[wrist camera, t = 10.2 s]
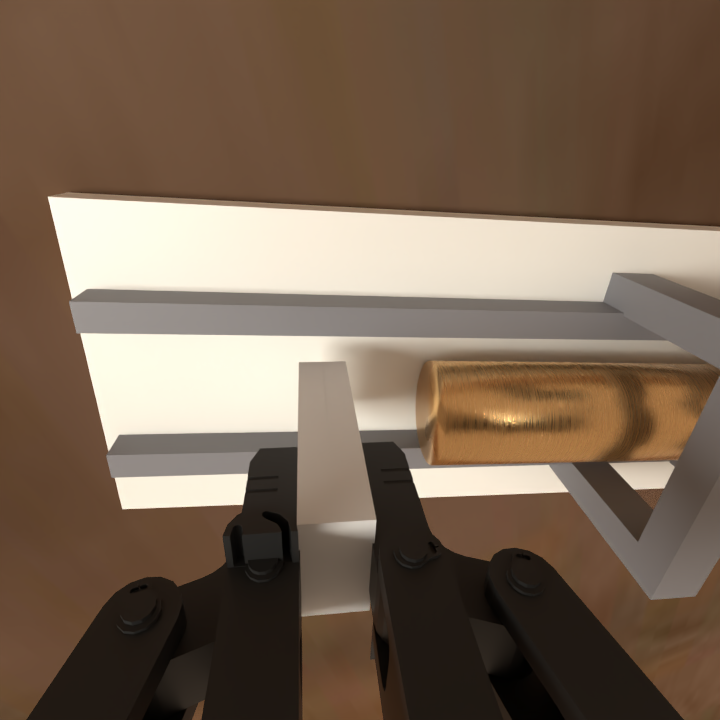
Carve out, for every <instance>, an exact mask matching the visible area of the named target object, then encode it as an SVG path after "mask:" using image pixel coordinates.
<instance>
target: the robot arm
mask: <svg viewBox="0 0 720 720" xmlns="http://www.w3.org/2000/svg"><path fill="white" fill-rule="evenodd" d="M223 543H224V550H225V556H226V563H225V564H224V565H223V566H222V567H220V568H219V569H217V570H216V571H215V572H213V573H212V574H209V575H207V576H205V577H203V578H201V579H198V580H195V581H193V582H190V583H187V584H184V585H182V586H179V587H177V586H176V584H175V583H174V582H173V581H171V580H168V579H165V578H162V577H146V578H143V579H140V580H137V581H135V582H132V583H129V584H128V585H126V586H125V587H123V588H122V589H120V590H119V591H117V592H116V593H115V594H114V595H113V596H112V597H111V598H110V599H109V600H108V602H107V603H106V604H105V605H104V606H103V607H102V609H101V610H100V612H99V613H98V615H97V616H96V618H95V619H94V621H93V622H92V624H91V625H90V627H89V628H88V629H87V631H86V632H85V634H84V635H83V637H82V638H81V640H80V641H79V643H78V644H77V646H76V647H75V649H74V650H73V652H72V653H71V655H70V656H69V658H68V659H67V661H66V662H65V664H64V665H63V666H62V668H61V669H60V671H59V672H58V674H57V675H56V677H55V678H54V680H53V681H52V683H51V684H50V686H49V687H48V689H47V690H46V692H45V693H44V695H43V696H42V698H41V699H40V701H39V702H38V704H37V705H36V706H35V708H34V709H33V711H32V712H31V714H30V715H29V717H28V718H27V720H192V718H193V715H194V712H195V710H196V707H197V705H198V702H201V701H203V700H205V702H204V708H203V714H202V720H302V630H301V616H312V615H323V614H334V613H345V612H356V611H367V610H369V609H370V601H371V608H372V615H373V630H372V642H371V656H370V659H375V662H376V669H377V676H378V683H379V691H380V698H381V705H382V713H383V720H684V719H683V718H682V717H681V716H680V715H679V714H678V712H677V711H676V710H675V709H674V708H673V707H672V705H671V704H670V703H669V702H668V701H667V700H666V698H665V697H664V696H663V695H662V694H661V693H660V691H659V690H658V689H657V688H656V687H655V686H654V684H653V683H652V682H651V681H650V680H649V679H648V677H647V676H646V675H645V674H644V673H643V672H642V670H641V669H640V668H639V667H638V666H637V665H636V663H635V662H634V661H633V660H632V659H631V658H630V656H629V655H628V654H627V653H626V652H625V651H624V649H623V648H622V647H621V646H620V645H619V644H618V643H617V641H616V640H615V639H614V638H613V637H612V636H611V634H610V633H609V632H608V631H607V630H606V629H605V627H604V626H603V625H602V624H601V623H600V622H599V620H598V619H597V618H596V617H595V616H594V615H593V613H592V612H591V611H590V610H589V609H588V608H587V606H586V605H585V604H584V603H583V602H582V601H581V599H580V598H579V597H578V596H577V595H576V594H575V592H574V591H573V590H572V589H571V588H570V587H569V585H568V584H567V583H566V582H565V581H564V580H563V578H562V577H561V576H560V575H559V574H558V573H557V571H556V570H555V569H554V568H553V567H552V566H551V565H550V564H549V563H547V562H546V561H545V560H544V559H543V558H542V557H540V556H538V555H536V554H534V553H532V552H530V551H527V550H523V549H518V548H510V549H503V550H501V551H499V552H498V553H496V554H494V556H493V557H492V559H491V561H490V562H489V561H484V560H480V559H475V558H471V557H466V556H463V555H460V554H457V553H454V552H452V551H450V550H449V549H447V548H445V547H444V546H443V545H442V544H441V542H440V541H439V540H438V539H437V538H436V537H435V536H433V535H432V533H431V531H430V529H429V527H428V524H427V521H426V518H425V515H424V511H423V508H422V505H421V502H420V499H419V496H418V493H417V490H416V487H415V484H414V483H413V478H412V474H411V471H410V470H409V465H408V462H407V459H406V456H405V453H404V452H403V451H402V450H401V449H400V448H399V447H398V446H397V445H396V444H395V443H394V442H393V441H392V442H369V443H361V438H360V433H359V428H358V422H357V417H356V412H355V407H354V402H353V397H352V392H351V386H350V381H349V376H348V371H347V366H346V361H335V362H299V380H298V447H281V448H260V449H259V451H258V452H257V453H256V455H255V456H254V457H253V459H252V460H251V461H250V465H249V471H248V480H247V484H246V493H245V496H244V503H243V509H242V513H240V514H239V515H237V516H236V517H235V518H234V519H233V520H232V521H231V522H230V523H229V524H228V525H227V527H226V530H225V532H224V534H223Z"/></svg>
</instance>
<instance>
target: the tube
mask: <svg viewBox="0 0 720 720" xmlns="http://www.w3.org/2000/svg"><path fill="white" fill-rule="evenodd" d="M719 376H720V369H718V368H717V367H715V366H713V365H711V364H676V363H590V362H503V361H427V362H426V363H425V364H424V365H423V367H422V369H421V372H420V375H419V379H418V384H417V391H416V427H417V435H418V441H419V445H420V449H421V452H422V455H423V457H424V459H425V460H426V462H427V463H428V464H429V465H475V464H520V463H566V462H611V461H656V460H678V459H679V457H680V455H681V453H682V451H683V449H684V447H685V445H686V443H687V441H688V439H689V437H690V435H691V433H692V431H693V429H694V427H695V425H696V423H697V421H698V419H699V417H700V415H701V413H702V411H703V409H704V407H705V405H706V403H707V401H708V398H709V396H710V394H711V392H712V390H713V388H714V386H715V384H716V382H717V380H718V378H719Z"/></svg>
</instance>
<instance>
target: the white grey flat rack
mask: <svg viewBox="0 0 720 720" xmlns="http://www.w3.org/2000/svg"><path fill="white" fill-rule="evenodd" d="M48 199H49V203H50V207H51V212H52V216H53V220H54V224H55V228H56V233H57V237H58V241H59V245H60V249H61V254H62V258H63V262H64V266H65V270H66V275H67V279H68V283H69V287H70V291H71V296H72V300H70V301H69V304H70V308H71V312H72V316H73V320H74V324H75V328H76V333H81V338H82V342H83V346H84V350H85V354H86V359H87V363H88V367H89V371H90V375H91V379H92V384H93V388H94V392H95V396H96V400H97V405H98V409H99V413H100V417H101V421H102V426H103V430H104V434H105V438H106V442H107V447H108V451H109V452H108V453H107V455H106V456H107V460H108V465H109V469H110V473H111V477H112V478H115V480H116V484H117V489H118V493H119V497H120V501H121V505H122V509H139V508H165V507H191V506H217V505H243V503H244V496H245V493H246V484H247V480H248V471H249V465H250V461H251V460H252V459H253V457H254V456H255V455H256V453H257V452H258V451H259V449H260V448H281V447H298V380H299V362H335V361H346V366H347V371H348V376H349V381H350V386H351V392H352V397H353V402H354V407H355V412H356V417H357V422H358V428H359V433H360V438H361V443H369V442H392V441H393V442H394V443H395V444H396V445H397V446H398V447H399V448H400V449H401V450H402V451H403V452H404V453H405V456H406V459H407V462H408V465H409V470H410V471H411V474H412V478H413V483H414V484H415V487H416V490H417V493H418V496H419V498H424V497H450V496H476V495H501V494H527V493H553V492H569V493H570V494H571V495H572V497H573V498H574V499H575V501H576V502H577V503H578V505H579V506H580V507H581V509H582V510H583V511H584V512H585V514H586V515H587V516H588V518H589V519H590V520H591V522H592V523H593V524H594V526H595V527H596V528H597V530H598V531H599V532H600V534H601V535H602V536H603V538H604V539H605V540H606V542H607V543H608V544H609V546H610V547H611V548H612V549H613V551H614V552H615V553H616V555H617V556H618V557H619V559H620V560H621V561H622V563H623V564H624V565H625V567H626V568H627V569H628V571H629V572H630V573H631V575H632V576H633V577H634V579H635V580H636V581H637V582H638V584H639V585H640V586H641V588H642V589H643V590H644V592H645V593H646V594H647V596H648V597H649V598H650V600H654V599H667V598H680V597H693V596H696V594H697V593H698V591H699V590H700V588H701V586H702V585H703V583H704V582H705V580H706V578H707V577H708V575H709V574H710V572H711V570H712V569H713V567H714V565H715V564H716V562H717V561H718V559H719V557H720V376H719V378H718V380H717V382H716V384H715V386H714V388H713V390H712V392H711V394H710V396H709V398H708V401H707V403H706V405H705V407H704V409H703V411H702V413H701V415H700V417H699V419H698V421H697V423H696V425H695V427H694V429H693V431H692V433H691V435H690V437H689V439H688V441H687V443H686V445H685V447H684V449H683V451H682V453H681V455H680V457H679V459H678V460H656V461H611V462H566V463H520V464H475V465H429V464H428V463H427V462H426V460H425V459H424V457H423V455H422V452H421V449H420V445H419V441H418V435H417V427H416V391H417V384H418V379H419V375H420V372H421V369H422V367H423V365H424V364H425V363H426V362H427V361H503V362H590V363H676V364H711V365H713V366H715V367H717V368H718V369H720V227H717V226H698V225H679V224H660V223H641V222H622V221H603V220H584V219H565V218H546V217H527V216H508V215H489V214H470V213H451V212H432V211H413V210H394V209H375V208H356V207H337V206H319V205H300V204H281V203H262V202H243V201H224V200H205V199H186V198H167V197H148V196H129V195H110V194H91V193H72V192H67V193H63V194H58V195H54V196H50V197H48ZM657 488H664V490H663V492H662V494H661V496H660V498H659V500H658V502H657V504H656V506H655V508H654V510H653V509H652V508H651V507H650V506H649V505H648V504H647V503H646V502H645V501H644V500H643V499H642V498H641V497H640V496H639V494H638V493H637V492H636V491H635V490H634V489H657Z"/></svg>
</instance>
